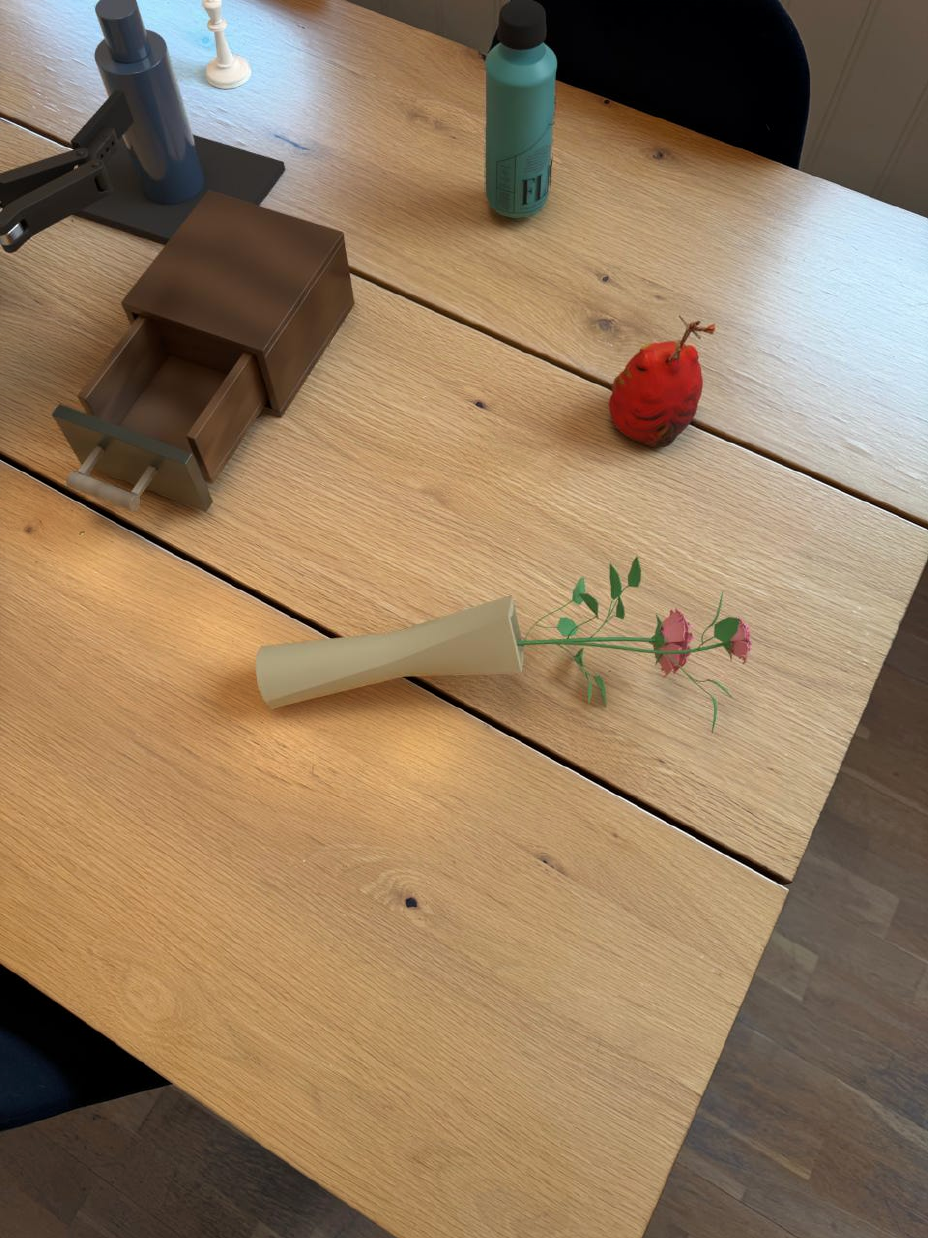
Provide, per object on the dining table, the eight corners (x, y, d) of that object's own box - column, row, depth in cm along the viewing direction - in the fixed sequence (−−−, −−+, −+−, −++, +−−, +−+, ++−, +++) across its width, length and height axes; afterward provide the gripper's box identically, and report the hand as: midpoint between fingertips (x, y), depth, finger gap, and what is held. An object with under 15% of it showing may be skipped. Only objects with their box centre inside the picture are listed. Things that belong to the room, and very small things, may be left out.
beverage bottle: (519, 241, 99) (527, 45, 82) (469, 209, 101) (466, 12, 84) (562, 206, 101) (579, 8, 84) (512, 175, 104) (519, -24, 86)
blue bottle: (129, 194, 102) (63, 18, 86) (162, 154, 104) (104, -24, 88) (184, 212, 101) (127, 36, 85) (216, 170, 103) (167, -7, 87)
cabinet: (281, 417, 90) (262, 351, 82) (150, 371, 93) (120, 302, 85) (354, 303, 96) (343, 231, 88) (229, 263, 99) (208, 189, 91)
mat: (62, 210, 102) (58, 202, 101) (136, 124, 108) (133, 116, 107) (217, 261, 99) (215, 253, 98) (285, 169, 105) (284, 161, 104)
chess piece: (233, 53, 113) (212, -39, 104) (260, 74, 111) (241, -18, 103) (197, 73, 112) (172, -19, 103) (224, 95, 110) (201, 3, 101)
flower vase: (317, 686, 86) (735, 614, 80) (301, 808, 78) (768, 738, 72) (263, 590, 78) (724, 501, 72) (239, 714, 70) (760, 626, 63)
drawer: (180, 552, 83) (156, 506, 77) (53, 502, 85) (20, 453, 79) (283, 394, 90) (268, 340, 84) (163, 352, 93) (141, 297, 86)
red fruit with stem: (675, 381, 91) (709, 252, 78) (706, 442, 88) (746, 318, 75) (596, 402, 90) (615, 274, 77) (624, 464, 87) (649, 342, 74)
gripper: (-211, 251, 81) (-49, 87, 89) (53, 346, 76) (197, 163, 84) (-274, 171, 74) (-92, 2, 82) (11, 271, 69) (173, 80, 78)
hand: (54, 83), depth 83 cm, fingers open, 13 cm apart
